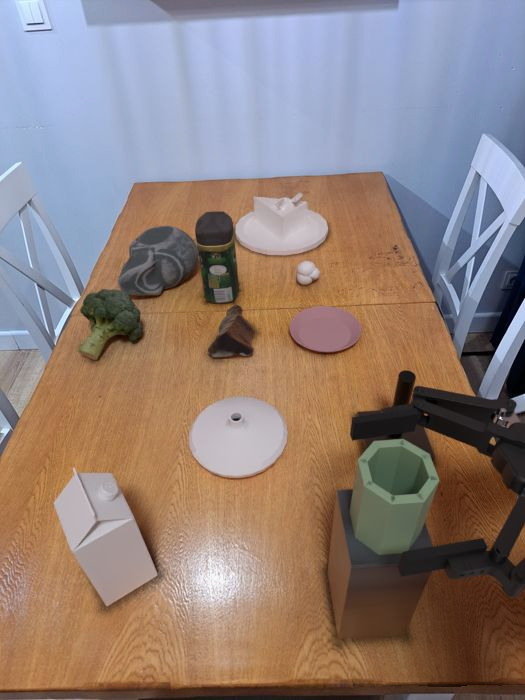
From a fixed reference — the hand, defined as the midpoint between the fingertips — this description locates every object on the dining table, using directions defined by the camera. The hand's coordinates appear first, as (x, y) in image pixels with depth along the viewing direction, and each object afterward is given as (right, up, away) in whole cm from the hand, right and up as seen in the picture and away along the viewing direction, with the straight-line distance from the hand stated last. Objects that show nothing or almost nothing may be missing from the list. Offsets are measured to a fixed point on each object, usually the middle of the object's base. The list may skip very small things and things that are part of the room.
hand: (373, 489), depth 43 cm
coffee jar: (-19, +25, +69) cm, 75 cm away
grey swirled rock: (-33, +28, +73) cm, 85 cm away
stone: (-15, +15, +57) cm, 61 cm away
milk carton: (-28, -17, +22) cm, 40 cm away
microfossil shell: (+1, +28, +70) cm, 76 cm away
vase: (-14, -3, +37) cm, 39 cm away
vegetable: (-40, +14, +57) cm, 71 cm away
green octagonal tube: (+2, -5, +5) cm, 7 cm away
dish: (-5, +44, +89) cm, 99 cm away
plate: (+3, +15, +56) cm, 58 cm away
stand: (+3, -19, +18) cm, 26 cm away
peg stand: (+11, -2, +36) cm, 38 cm away
